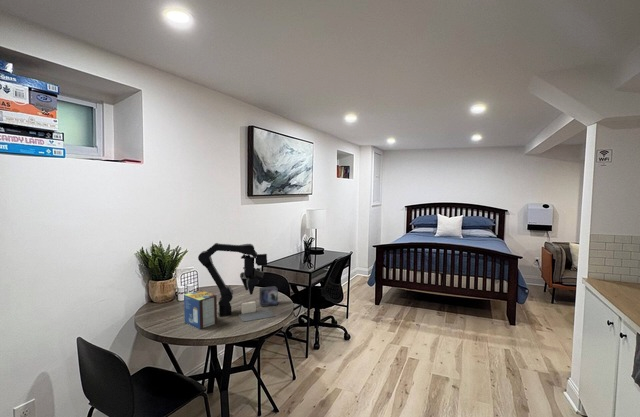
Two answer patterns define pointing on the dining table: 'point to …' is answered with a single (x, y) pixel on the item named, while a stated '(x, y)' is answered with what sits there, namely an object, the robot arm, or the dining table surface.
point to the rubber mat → (256, 315)
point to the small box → (268, 296)
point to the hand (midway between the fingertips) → (249, 292)
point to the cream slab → (248, 307)
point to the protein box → (200, 309)
